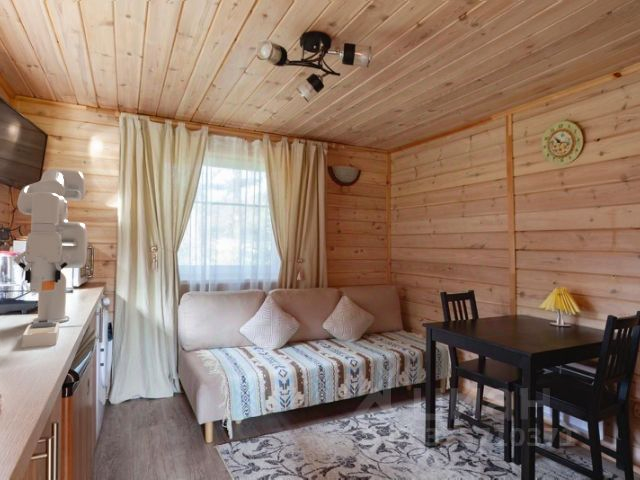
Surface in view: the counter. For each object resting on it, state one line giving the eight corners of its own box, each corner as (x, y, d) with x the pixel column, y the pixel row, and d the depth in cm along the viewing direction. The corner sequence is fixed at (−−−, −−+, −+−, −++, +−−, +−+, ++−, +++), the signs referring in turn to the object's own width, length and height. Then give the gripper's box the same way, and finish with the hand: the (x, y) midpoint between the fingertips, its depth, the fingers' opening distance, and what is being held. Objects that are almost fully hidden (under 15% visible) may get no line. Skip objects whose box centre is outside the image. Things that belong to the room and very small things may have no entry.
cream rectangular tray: (28, 335, 140) (28, 323, 140) (58, 333, 144) (59, 321, 145) (22, 347, 125) (22, 334, 125) (56, 344, 130) (56, 331, 130)
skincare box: (40, 293, 128) (41, 256, 128) (29, 292, 129) (30, 256, 129) (56, 291, 134) (57, 256, 134) (45, 290, 135) (46, 255, 135)
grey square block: (34, 333, 139) (34, 319, 139) (52, 331, 142) (53, 317, 142) (32, 336, 135) (33, 321, 135) (51, 335, 137) (52, 320, 137)
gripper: (75, 230, 140) (73, 280, 139) (13, 228, 131) (12, 282, 130) (75, 230, 133) (73, 282, 133) (10, 227, 124) (8, 284, 124)
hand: (43, 282), depth 132 cm, fingers closed on skincare box, 7 cm apart
